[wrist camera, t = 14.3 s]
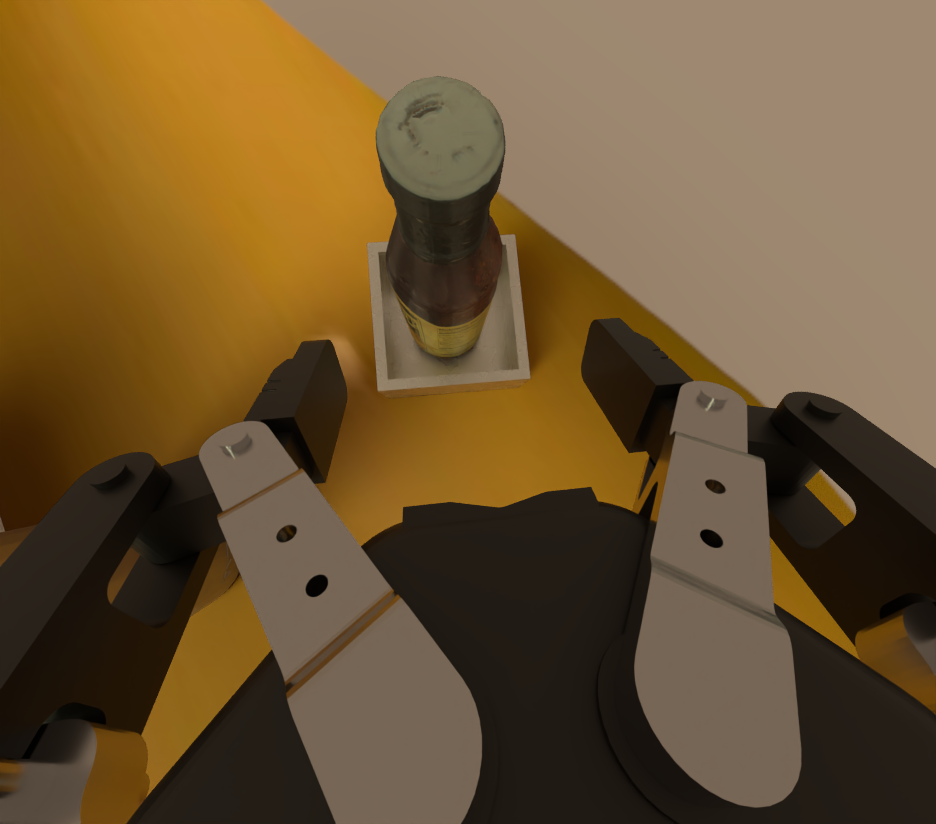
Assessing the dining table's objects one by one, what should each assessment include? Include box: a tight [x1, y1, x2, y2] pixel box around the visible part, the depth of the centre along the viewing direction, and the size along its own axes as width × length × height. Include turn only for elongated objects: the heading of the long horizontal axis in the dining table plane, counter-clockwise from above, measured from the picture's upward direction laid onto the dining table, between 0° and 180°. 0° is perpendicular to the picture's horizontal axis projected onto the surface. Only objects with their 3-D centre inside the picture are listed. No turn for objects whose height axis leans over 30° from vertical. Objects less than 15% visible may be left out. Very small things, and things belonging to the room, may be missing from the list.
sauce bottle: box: [376, 76, 505, 359], centre depth 20 cm, size 7×6×20 cm
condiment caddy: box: [367, 234, 530, 398], centre depth 28 cm, size 12×12×4 cm
